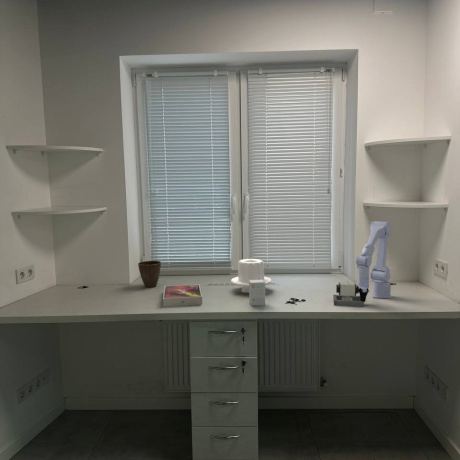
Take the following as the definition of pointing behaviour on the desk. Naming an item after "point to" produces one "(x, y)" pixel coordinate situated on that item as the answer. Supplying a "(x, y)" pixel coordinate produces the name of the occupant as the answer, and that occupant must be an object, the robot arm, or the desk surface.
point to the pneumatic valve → (347, 290)
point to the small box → (256, 292)
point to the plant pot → (150, 272)
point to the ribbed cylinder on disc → (250, 273)
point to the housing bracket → (354, 302)
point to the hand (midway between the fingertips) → (362, 301)
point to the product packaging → (182, 295)
